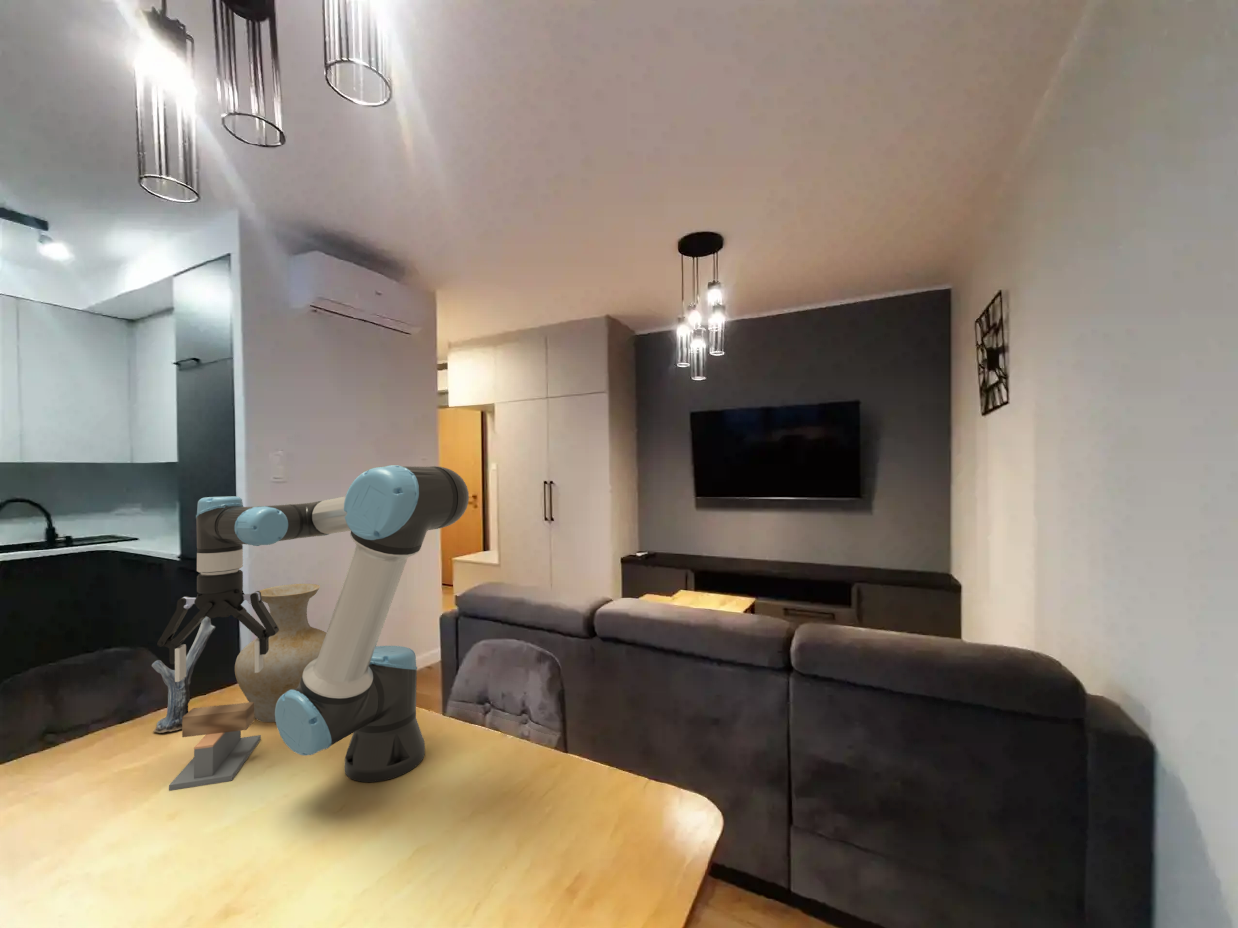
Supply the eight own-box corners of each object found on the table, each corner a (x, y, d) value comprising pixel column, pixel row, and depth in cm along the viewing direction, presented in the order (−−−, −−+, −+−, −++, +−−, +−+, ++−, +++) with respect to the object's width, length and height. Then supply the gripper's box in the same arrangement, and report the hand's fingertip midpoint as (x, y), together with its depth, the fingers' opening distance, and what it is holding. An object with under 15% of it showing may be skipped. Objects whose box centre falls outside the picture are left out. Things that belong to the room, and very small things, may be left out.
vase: (254, 695, 137) (254, 583, 138) (345, 685, 144) (345, 578, 144) (217, 736, 117) (218, 603, 117) (326, 722, 123) (327, 596, 123)
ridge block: (260, 739, 115) (261, 707, 115) (231, 780, 100) (232, 744, 100) (207, 746, 112) (207, 714, 112) (168, 790, 97) (169, 753, 97)
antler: (164, 737, 116) (165, 626, 116) (144, 730, 119) (145, 622, 119) (220, 714, 127) (221, 612, 127) (200, 709, 130) (201, 609, 130)
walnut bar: (254, 720, 110) (254, 701, 110) (246, 729, 106) (246, 710, 106) (192, 727, 107) (193, 708, 107) (182, 737, 103) (182, 717, 103)
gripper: (294, 564, 114) (295, 660, 114) (156, 572, 106) (156, 675, 106) (284, 570, 107) (284, 673, 106) (134, 579, 99) (134, 690, 99)
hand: (220, 674), depth 106 cm, fingers open, 13 cm apart
